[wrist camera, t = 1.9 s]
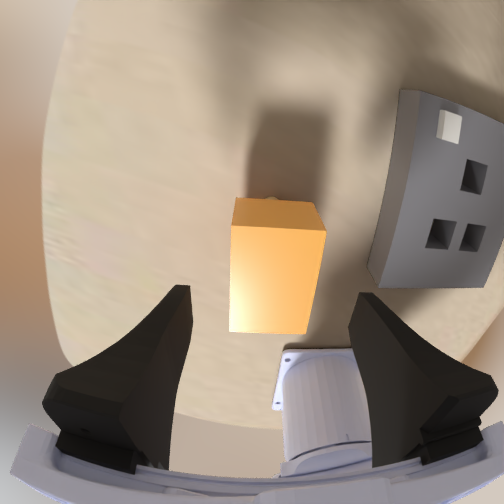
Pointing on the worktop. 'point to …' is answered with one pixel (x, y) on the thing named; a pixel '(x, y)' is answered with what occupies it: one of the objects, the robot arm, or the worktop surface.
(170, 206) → the worktop surface
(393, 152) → the socket
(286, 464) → the robot arm
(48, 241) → the worktop surface
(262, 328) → the plug
